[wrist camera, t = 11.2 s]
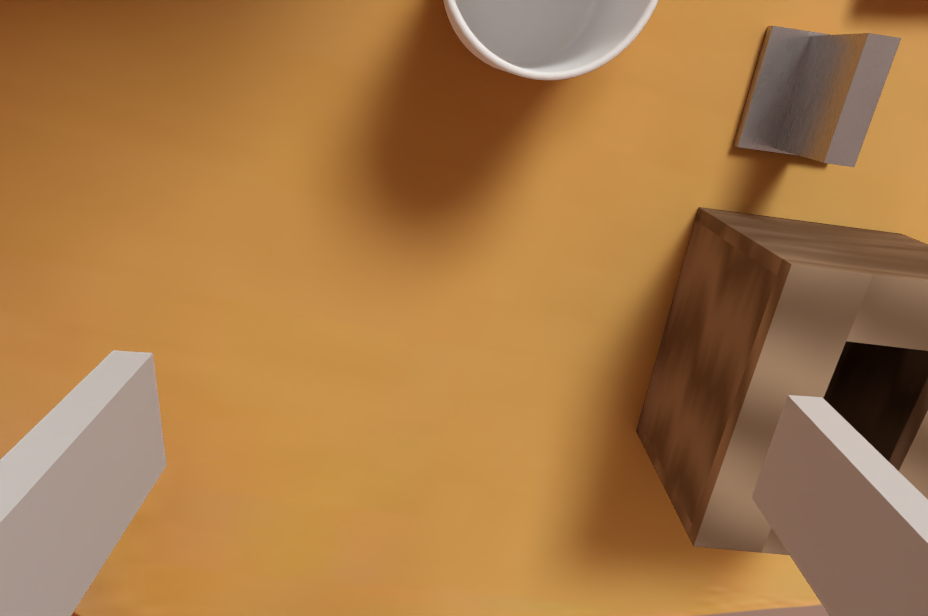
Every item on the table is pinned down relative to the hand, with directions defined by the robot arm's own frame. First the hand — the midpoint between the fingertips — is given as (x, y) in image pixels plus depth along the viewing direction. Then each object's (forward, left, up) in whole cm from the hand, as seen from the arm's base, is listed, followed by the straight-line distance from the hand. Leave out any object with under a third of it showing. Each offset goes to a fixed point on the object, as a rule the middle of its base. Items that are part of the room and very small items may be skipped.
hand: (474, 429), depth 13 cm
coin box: (+7, +21, -26) cm, 34 cm away
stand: (-8, +19, -26) cm, 33 cm away
